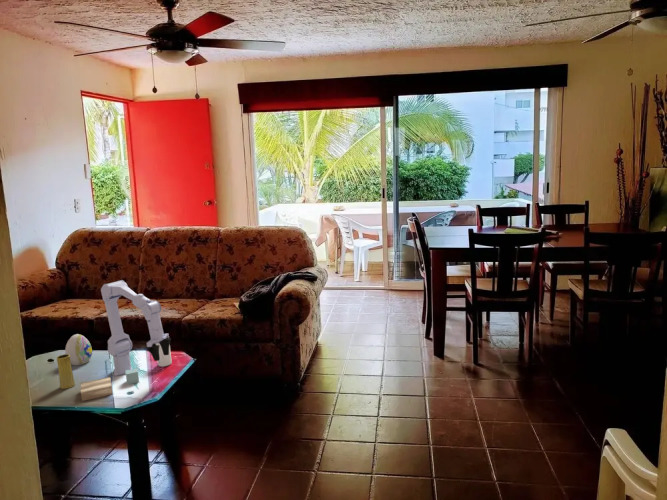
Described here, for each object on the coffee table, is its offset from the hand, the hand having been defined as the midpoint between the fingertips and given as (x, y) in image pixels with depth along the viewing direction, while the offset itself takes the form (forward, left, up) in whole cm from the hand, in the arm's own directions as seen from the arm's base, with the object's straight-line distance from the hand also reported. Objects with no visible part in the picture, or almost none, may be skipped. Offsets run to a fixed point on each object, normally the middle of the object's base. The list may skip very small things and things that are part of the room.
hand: (161, 357), depth 235 cm
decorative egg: (-52, -35, -11) cm, 63 cm away
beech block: (-4, -28, -11) cm, 30 cm away
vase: (-20, -40, -11) cm, 46 cm away
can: (-22, +3, -11) cm, 24 cm away
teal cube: (-8, -13, -11) cm, 19 cm away
